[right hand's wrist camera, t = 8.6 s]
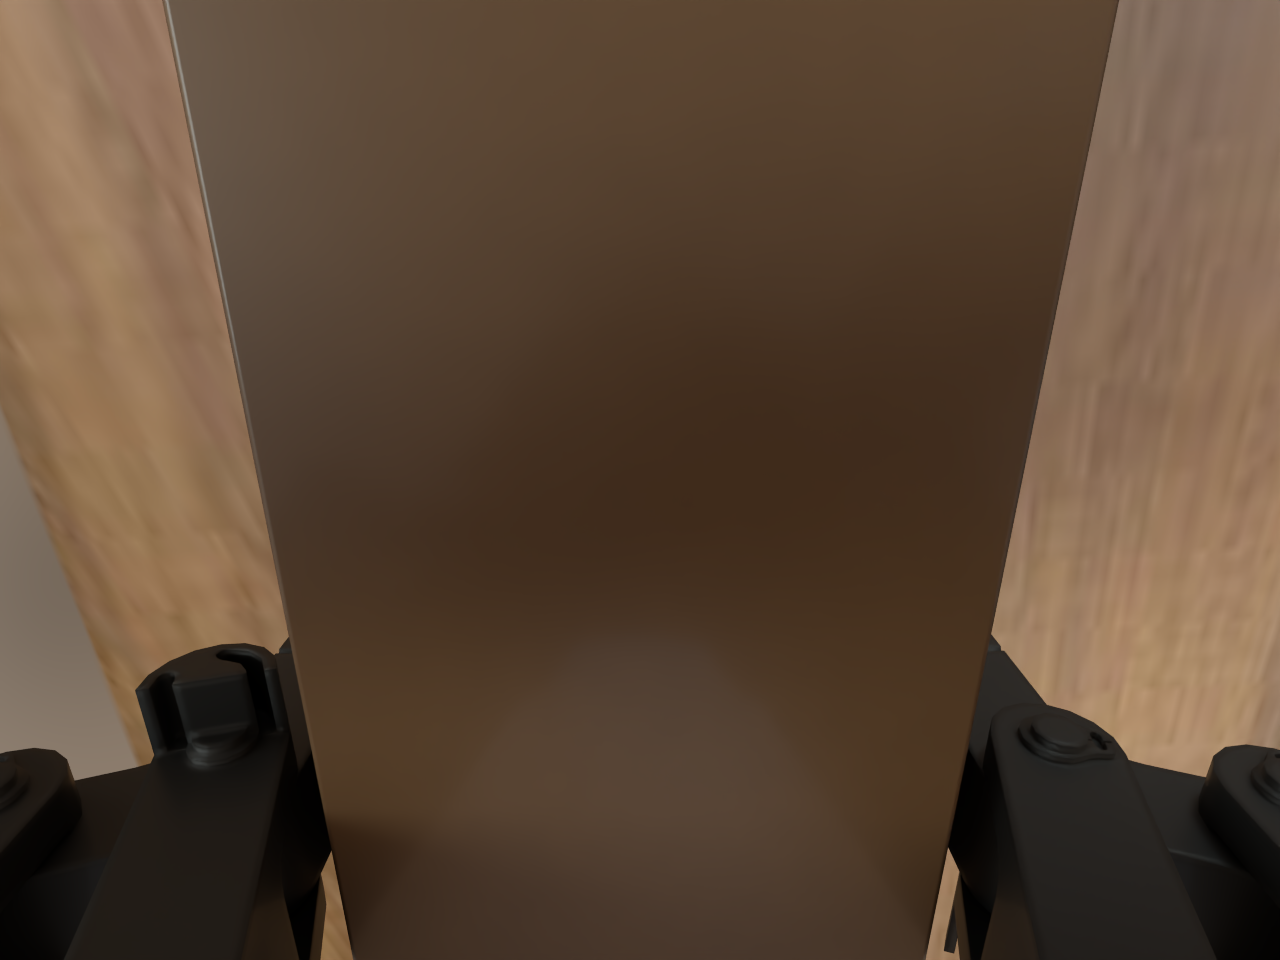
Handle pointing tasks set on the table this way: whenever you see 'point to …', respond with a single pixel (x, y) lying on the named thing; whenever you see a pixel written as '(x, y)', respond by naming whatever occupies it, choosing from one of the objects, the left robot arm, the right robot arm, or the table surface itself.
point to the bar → (640, 439)
